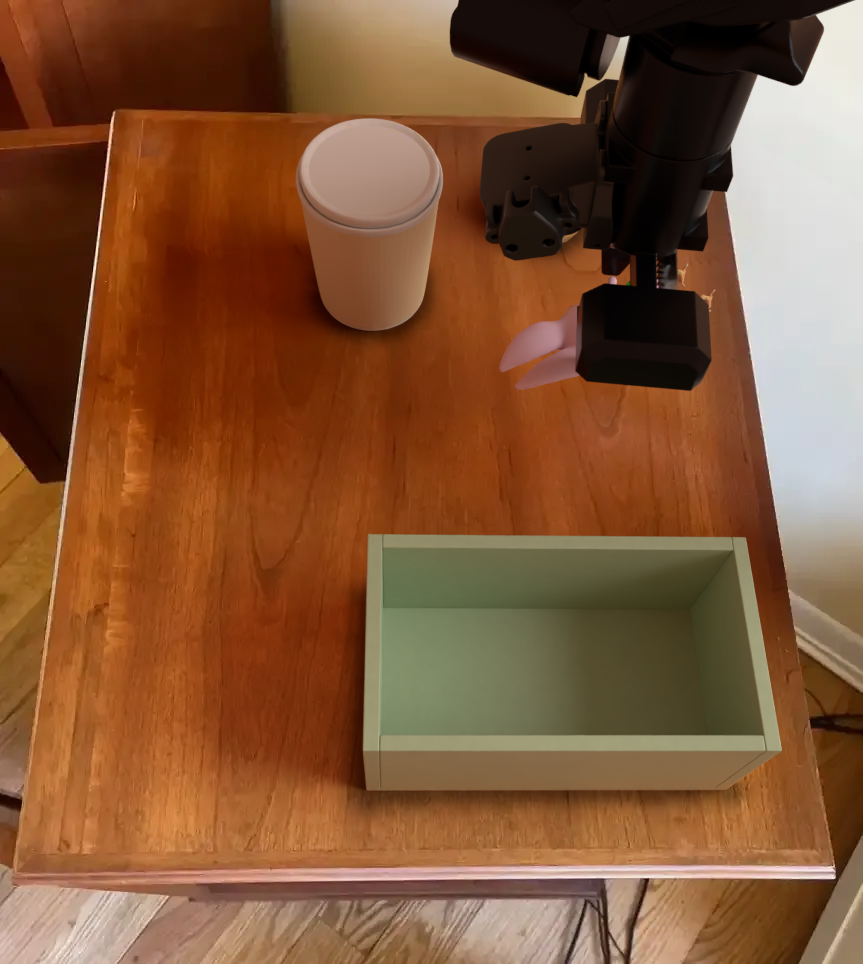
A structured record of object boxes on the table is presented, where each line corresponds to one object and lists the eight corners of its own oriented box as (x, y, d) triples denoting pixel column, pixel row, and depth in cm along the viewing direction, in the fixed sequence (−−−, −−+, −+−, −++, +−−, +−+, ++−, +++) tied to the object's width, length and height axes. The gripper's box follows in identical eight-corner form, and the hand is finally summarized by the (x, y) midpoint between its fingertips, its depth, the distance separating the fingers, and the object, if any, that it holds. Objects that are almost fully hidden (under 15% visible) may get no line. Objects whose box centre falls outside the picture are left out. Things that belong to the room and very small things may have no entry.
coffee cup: (434, 240, 77) (441, 114, 66) (438, 341, 72) (446, 223, 62) (310, 239, 76) (297, 113, 66) (306, 341, 72) (292, 223, 61)
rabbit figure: (650, 280, 66) (468, 360, 59) (685, 208, 61) (490, 287, 54) (716, 345, 63) (534, 437, 57) (757, 276, 58) (563, 367, 52)
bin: (699, 600, 64) (746, 536, 55) (725, 790, 58) (782, 751, 50) (370, 598, 63) (367, 533, 55) (366, 790, 57) (362, 750, 49)
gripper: (508, -30, 51) (483, 194, 65) (486, 258, 42) (463, 447, 56) (730, -11, 51) (658, 210, 64) (755, 282, 42) (665, 465, 56)
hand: (610, 323), depth 60 cm, fingers closed on rabbit figure, 7 cm apart
